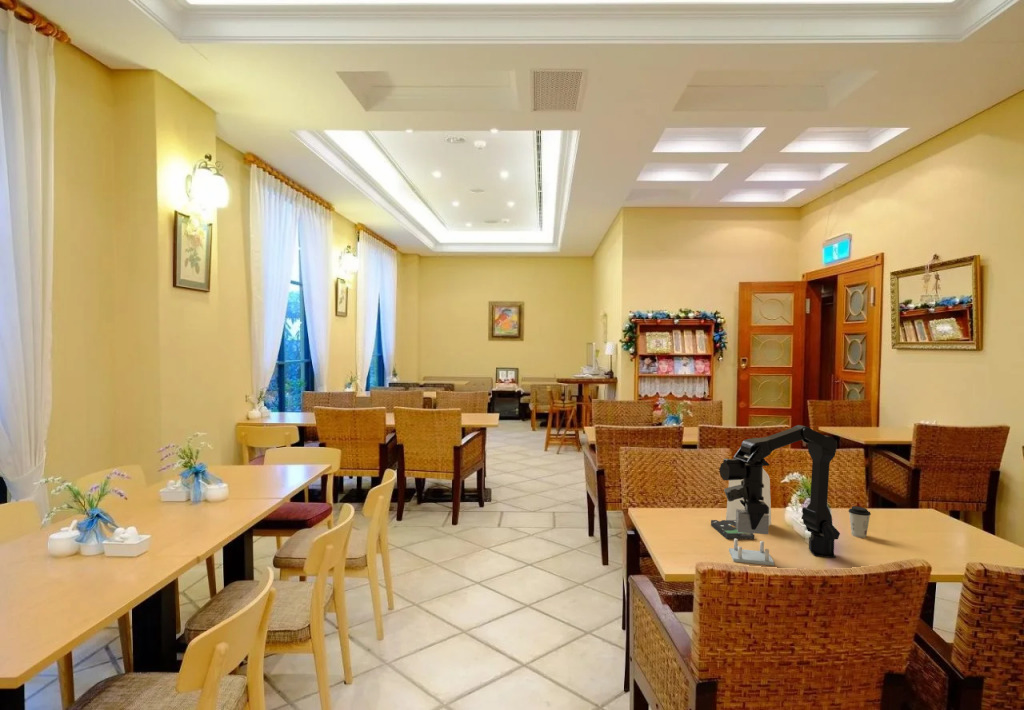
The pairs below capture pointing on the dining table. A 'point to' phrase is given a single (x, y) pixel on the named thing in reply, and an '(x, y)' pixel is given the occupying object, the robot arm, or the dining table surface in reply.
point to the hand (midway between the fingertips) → (751, 526)
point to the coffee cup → (859, 521)
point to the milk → (736, 503)
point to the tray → (751, 555)
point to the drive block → (745, 525)
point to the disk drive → (730, 530)
